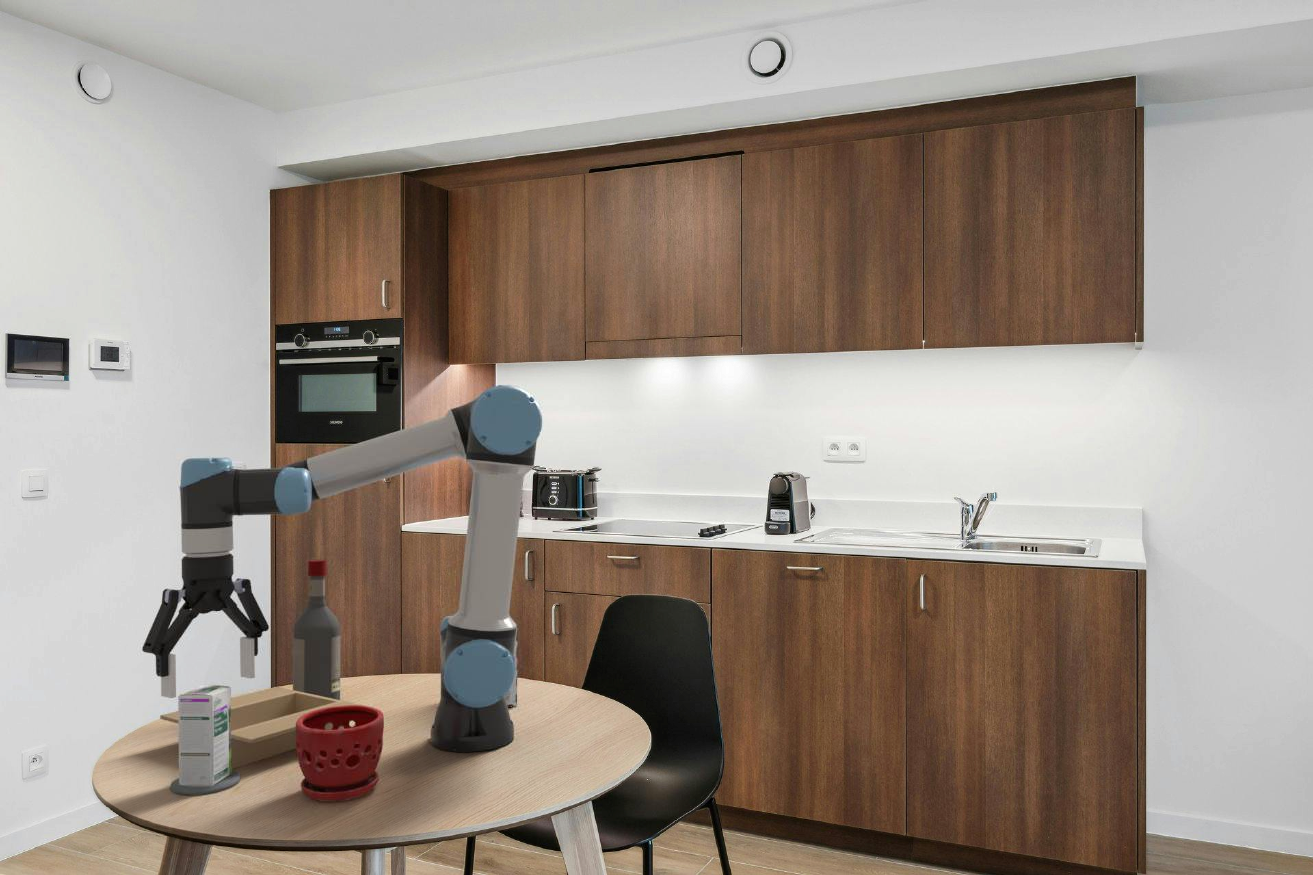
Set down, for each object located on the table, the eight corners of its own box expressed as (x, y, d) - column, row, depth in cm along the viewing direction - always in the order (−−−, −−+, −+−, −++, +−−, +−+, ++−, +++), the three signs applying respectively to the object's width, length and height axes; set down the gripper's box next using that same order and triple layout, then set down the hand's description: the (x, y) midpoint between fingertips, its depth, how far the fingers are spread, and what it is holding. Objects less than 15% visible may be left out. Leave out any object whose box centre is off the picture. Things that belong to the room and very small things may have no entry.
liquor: (293, 710, 193) (295, 563, 194) (292, 700, 202) (293, 559, 202) (340, 706, 197) (341, 561, 197) (337, 695, 205) (338, 557, 206)
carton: (366, 738, 175) (366, 706, 175) (250, 776, 155) (251, 739, 155) (276, 717, 189) (277, 686, 189) (159, 749, 168) (160, 715, 169)
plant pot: (283, 789, 149) (284, 713, 149) (365, 772, 157) (366, 700, 157) (310, 815, 139) (311, 733, 139) (396, 795, 147) (397, 718, 147)
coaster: (253, 780, 153) (253, 776, 153) (194, 800, 144) (194, 796, 144) (215, 769, 158) (215, 765, 158) (157, 787, 150) (157, 783, 150)
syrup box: (213, 787, 148) (213, 694, 148) (176, 786, 148) (177, 693, 149) (232, 774, 154) (232, 685, 154) (197, 773, 154) (197, 684, 154)
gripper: (261, 545, 164) (263, 667, 164) (115, 561, 143) (118, 702, 143) (289, 546, 160) (291, 672, 160) (143, 564, 139) (146, 709, 139)
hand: (209, 686), depth 152 cm, fingers open, 13 cm apart
